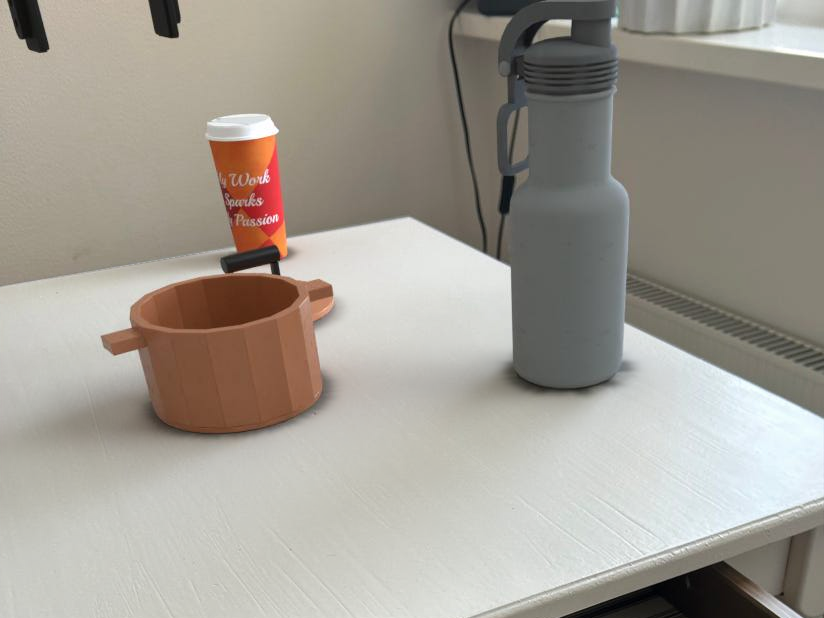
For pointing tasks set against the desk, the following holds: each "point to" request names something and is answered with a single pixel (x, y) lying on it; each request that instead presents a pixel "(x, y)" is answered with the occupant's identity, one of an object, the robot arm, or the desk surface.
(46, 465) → the desk surface
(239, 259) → the lid
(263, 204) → the coffee cup
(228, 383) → the pot
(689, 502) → the desk surface
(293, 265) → the desk surface
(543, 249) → the water bottle
